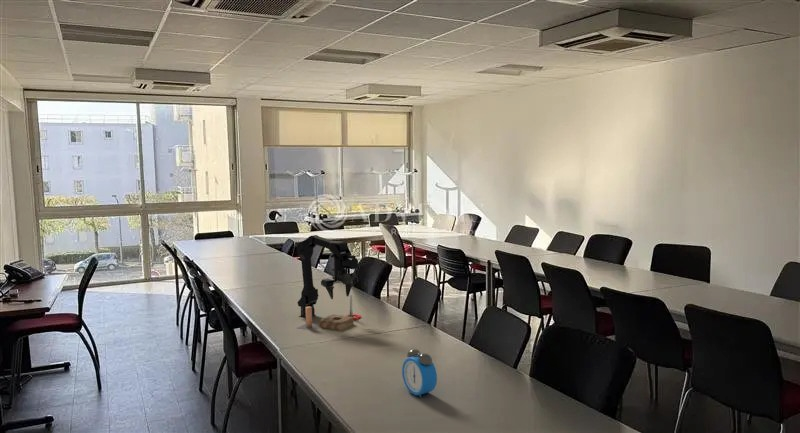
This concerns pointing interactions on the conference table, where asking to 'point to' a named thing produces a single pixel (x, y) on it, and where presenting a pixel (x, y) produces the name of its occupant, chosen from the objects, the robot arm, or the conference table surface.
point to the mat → (308, 328)
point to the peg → (308, 317)
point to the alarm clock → (419, 373)
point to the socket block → (336, 322)
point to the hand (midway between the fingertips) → (339, 297)
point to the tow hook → (352, 311)
